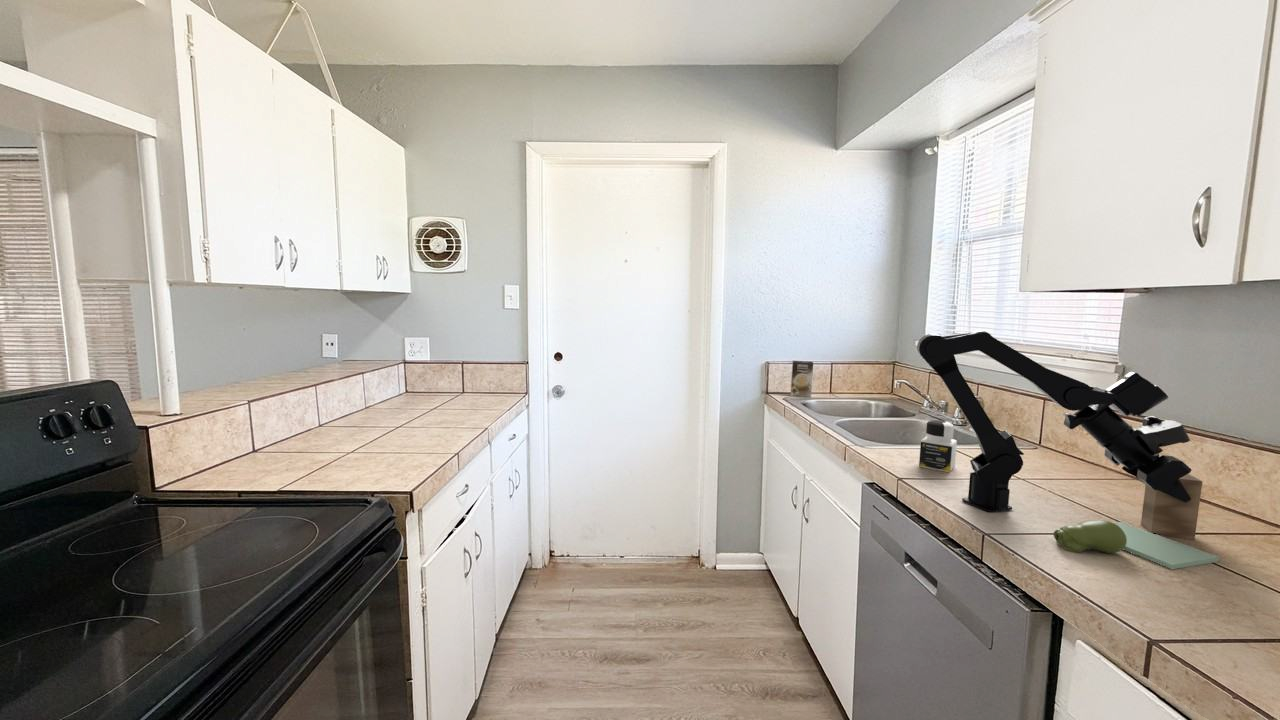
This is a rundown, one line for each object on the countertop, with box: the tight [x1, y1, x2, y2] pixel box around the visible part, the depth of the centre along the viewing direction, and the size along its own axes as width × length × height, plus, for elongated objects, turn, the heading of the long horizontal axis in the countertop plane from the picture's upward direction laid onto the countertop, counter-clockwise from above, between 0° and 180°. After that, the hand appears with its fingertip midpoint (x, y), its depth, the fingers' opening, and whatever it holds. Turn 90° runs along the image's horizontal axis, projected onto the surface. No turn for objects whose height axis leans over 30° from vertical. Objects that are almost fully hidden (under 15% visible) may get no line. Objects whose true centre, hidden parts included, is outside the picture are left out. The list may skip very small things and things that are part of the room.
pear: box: [1052, 519, 1127, 554], centre depth 88 cm, size 6×5×10 cm
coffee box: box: [790, 360, 814, 399], centre depth 233 cm, size 9×6×16 cm
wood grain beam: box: [1140, 473, 1203, 540], centre depth 95 cm, size 6×4×11 cm, turn 65°
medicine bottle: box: [918, 419, 958, 473], centre depth 132 cm, size 7×7×12 cm
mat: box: [1113, 521, 1220, 570], centre depth 90 cm, size 14×11×1 cm
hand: (1181, 496), depth 94 cm, fingers closed on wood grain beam, 4 cm apart
